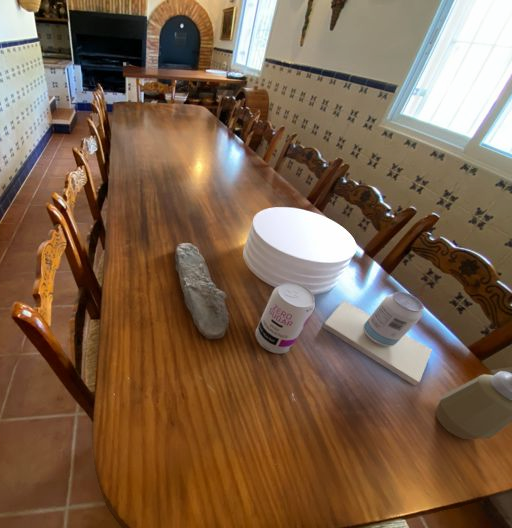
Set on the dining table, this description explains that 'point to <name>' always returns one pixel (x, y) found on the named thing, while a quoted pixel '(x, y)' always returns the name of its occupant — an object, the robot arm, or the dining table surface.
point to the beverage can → (393, 318)
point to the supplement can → (284, 317)
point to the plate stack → (298, 248)
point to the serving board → (392, 357)
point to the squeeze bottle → (478, 407)
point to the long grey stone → (201, 293)
